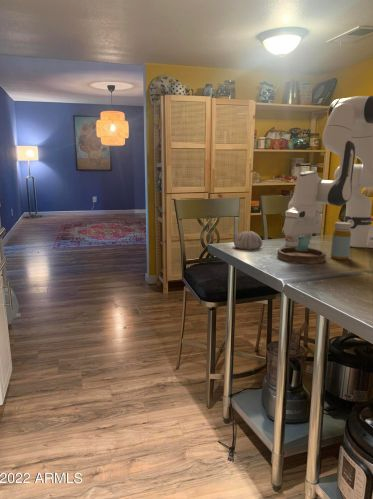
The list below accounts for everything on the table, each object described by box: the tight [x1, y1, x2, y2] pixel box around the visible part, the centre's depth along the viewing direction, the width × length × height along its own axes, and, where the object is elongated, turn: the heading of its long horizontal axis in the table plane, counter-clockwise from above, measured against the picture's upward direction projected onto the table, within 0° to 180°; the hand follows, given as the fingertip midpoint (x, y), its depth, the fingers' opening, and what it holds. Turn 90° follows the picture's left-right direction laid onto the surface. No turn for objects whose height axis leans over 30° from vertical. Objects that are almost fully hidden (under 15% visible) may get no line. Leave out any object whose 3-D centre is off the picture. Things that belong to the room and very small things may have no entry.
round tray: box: [276, 246, 327, 265], centre depth 160 cm, size 19×19×3 cm
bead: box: [295, 235, 310, 251], centre depth 158 cm, size 5×5×6 cm
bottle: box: [330, 221, 351, 261], centre depth 159 cm, size 7×7×15 cm
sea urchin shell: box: [233, 230, 264, 251], centre depth 178 cm, size 13×14×8 cm
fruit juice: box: [284, 186, 307, 247], centre depth 182 cm, size 9×9×28 cm
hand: (301, 244), depth 159 cm, fingers closed on bead, 5 cm apart
